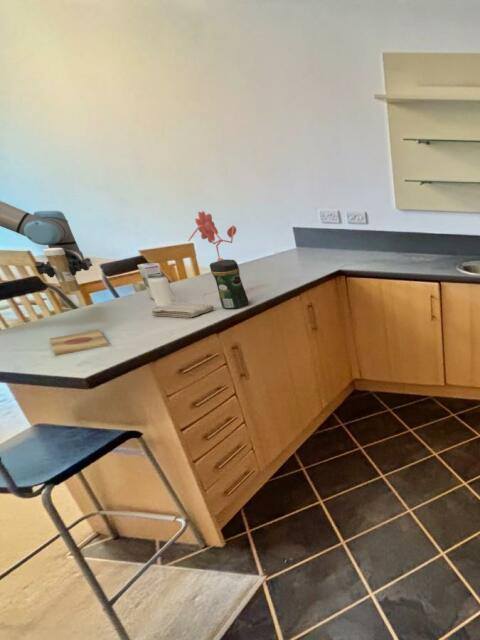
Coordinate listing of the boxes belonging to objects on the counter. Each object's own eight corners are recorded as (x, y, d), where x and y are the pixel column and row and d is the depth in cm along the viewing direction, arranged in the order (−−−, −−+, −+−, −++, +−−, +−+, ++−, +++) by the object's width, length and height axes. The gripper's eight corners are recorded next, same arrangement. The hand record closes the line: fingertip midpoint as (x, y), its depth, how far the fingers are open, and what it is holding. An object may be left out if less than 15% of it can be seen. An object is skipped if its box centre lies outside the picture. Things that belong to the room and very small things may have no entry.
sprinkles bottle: (80, 291, 136) (61, 248, 130) (61, 293, 134) (40, 250, 128) (82, 288, 139) (63, 246, 133) (63, 290, 137) (43, 248, 131)
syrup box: (171, 297, 181) (159, 263, 175) (155, 300, 177) (142, 266, 170) (165, 295, 184) (153, 262, 177) (149, 298, 179) (136, 264, 173)
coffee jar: (235, 302, 176) (222, 257, 168) (252, 303, 175) (240, 258, 167) (218, 309, 167) (203, 262, 159) (236, 310, 167) (222, 263, 158)
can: (176, 302, 175) (165, 273, 169) (177, 306, 170) (166, 276, 165) (156, 305, 171) (145, 275, 166) (157, 308, 167) (146, 278, 161)
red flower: (256, 288, 199) (236, 209, 183) (224, 302, 176) (198, 214, 160) (224, 287, 198) (200, 208, 183) (188, 302, 175) (157, 213, 159)
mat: (50, 340, 134) (49, 338, 133) (100, 331, 142) (98, 329, 141) (55, 355, 123) (54, 353, 123) (108, 345, 131) (107, 342, 131)
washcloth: (175, 307, 168) (172, 300, 167) (216, 309, 166) (214, 302, 165) (149, 316, 157) (146, 308, 156) (193, 318, 156) (190, 310, 154)
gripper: (103, 268, 152) (103, 280, 137) (36, 274, 142) (26, 287, 126) (95, 247, 149) (93, 257, 133) (25, 252, 139) (14, 262, 123)
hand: (60, 272), depth 130 cm, fingers closed on sprinkles bottle, 4 cm apart
